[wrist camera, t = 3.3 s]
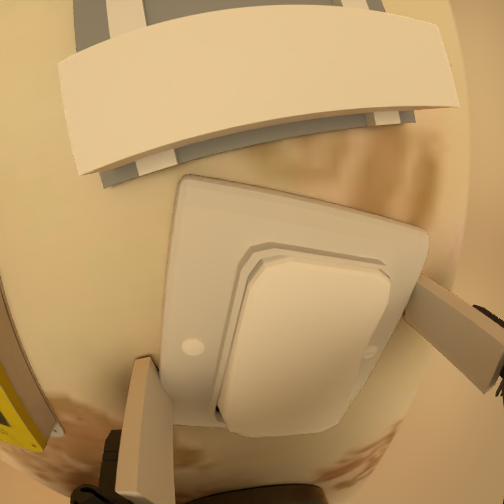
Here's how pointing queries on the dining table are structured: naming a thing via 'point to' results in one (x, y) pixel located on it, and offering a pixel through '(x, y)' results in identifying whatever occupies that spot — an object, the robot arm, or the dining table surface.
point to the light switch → (277, 305)
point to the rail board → (238, 76)
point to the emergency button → (21, 392)
